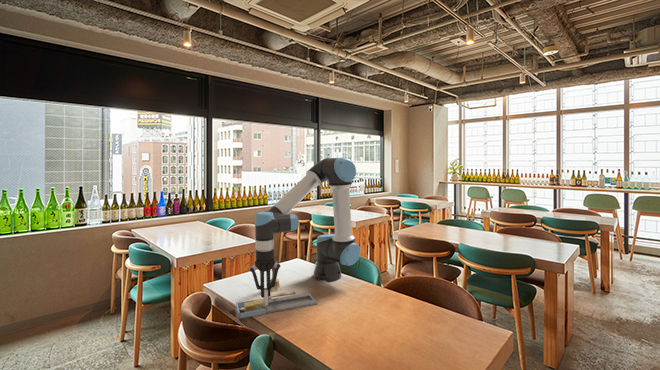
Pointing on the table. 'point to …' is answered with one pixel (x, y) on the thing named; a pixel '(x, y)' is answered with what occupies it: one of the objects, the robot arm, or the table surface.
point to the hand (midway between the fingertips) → (265, 304)
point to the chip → (249, 306)
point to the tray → (250, 313)
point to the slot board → (289, 302)
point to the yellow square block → (259, 304)
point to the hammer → (281, 294)
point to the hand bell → (277, 285)
